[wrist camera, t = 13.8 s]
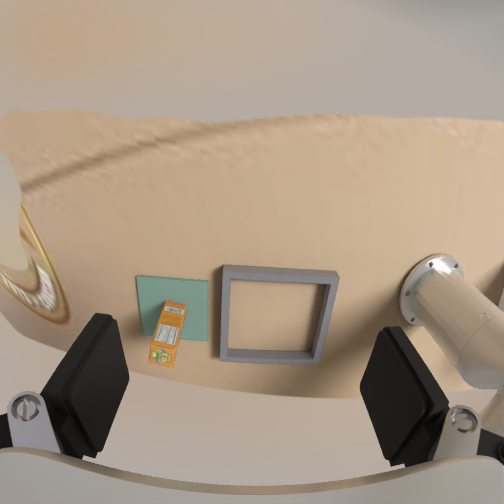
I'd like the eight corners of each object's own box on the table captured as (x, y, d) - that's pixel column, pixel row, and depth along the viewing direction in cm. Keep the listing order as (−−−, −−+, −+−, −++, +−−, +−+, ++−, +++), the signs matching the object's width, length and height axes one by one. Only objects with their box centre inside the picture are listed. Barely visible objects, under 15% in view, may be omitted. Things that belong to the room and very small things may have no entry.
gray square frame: (335, 271, 40) (339, 277, 38) (316, 355, 45) (318, 364, 44) (223, 264, 39) (222, 271, 37) (220, 352, 45) (220, 361, 43)
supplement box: (186, 323, 42) (172, 370, 33) (163, 317, 42) (145, 363, 32) (189, 304, 41) (176, 350, 32) (165, 298, 40) (146, 342, 31)
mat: (208, 280, 40) (207, 282, 40) (207, 339, 44) (207, 341, 43) (137, 274, 40) (136, 276, 39) (144, 332, 43) (143, 334, 43)
